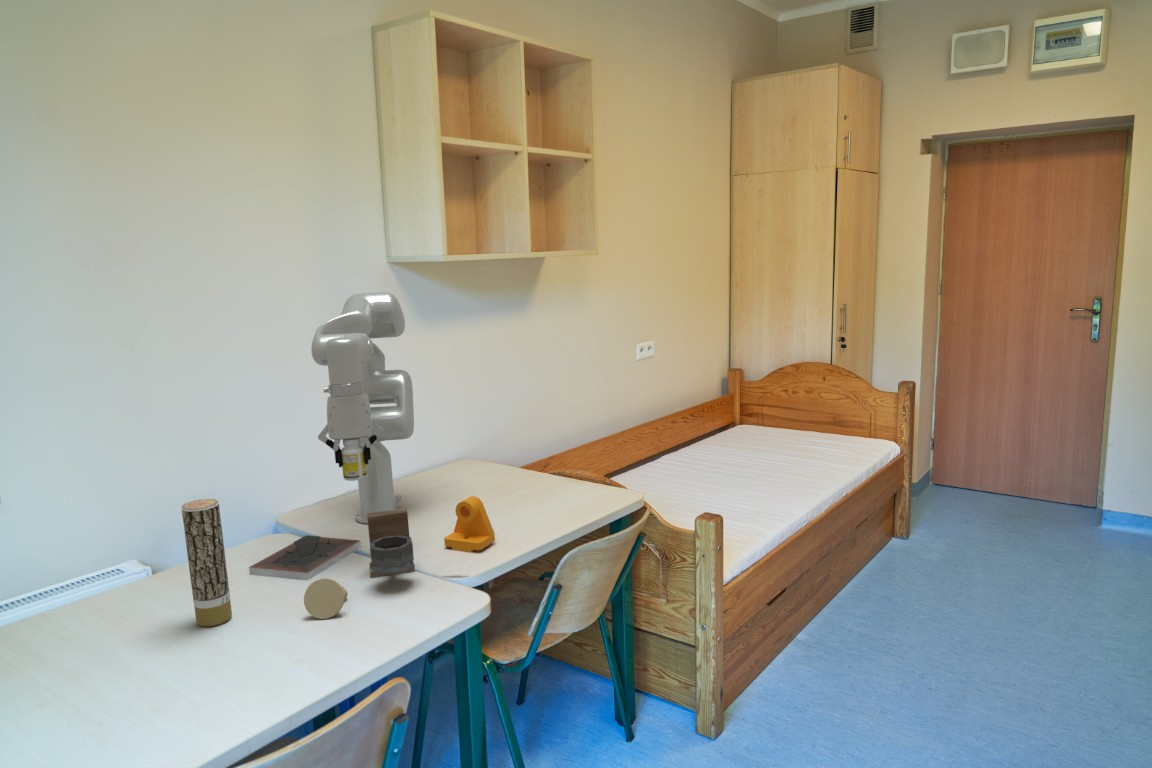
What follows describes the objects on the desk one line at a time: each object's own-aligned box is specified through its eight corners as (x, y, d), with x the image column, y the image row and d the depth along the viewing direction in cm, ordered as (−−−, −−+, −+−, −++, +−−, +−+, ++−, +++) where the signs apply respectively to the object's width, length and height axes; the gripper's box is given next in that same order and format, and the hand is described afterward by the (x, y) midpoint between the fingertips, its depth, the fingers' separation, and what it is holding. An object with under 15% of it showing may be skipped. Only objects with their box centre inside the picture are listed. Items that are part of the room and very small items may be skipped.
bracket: (443, 549, 200) (439, 502, 199) (459, 539, 207) (455, 494, 205) (480, 553, 196) (477, 506, 194) (495, 543, 203) (492, 498, 201)
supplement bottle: (359, 473, 196) (355, 434, 194) (371, 477, 192) (367, 437, 190) (339, 478, 192) (335, 438, 191) (350, 482, 188) (346, 442, 187)
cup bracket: (369, 568, 190) (364, 511, 187) (412, 562, 192) (408, 506, 190) (372, 596, 173) (366, 535, 171) (419, 589, 176) (414, 528, 174)
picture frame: (307, 544, 210) (249, 576, 190) (306, 535, 209) (248, 566, 189) (361, 548, 205) (308, 582, 184) (360, 539, 204) (307, 572, 184)
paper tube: (197, 631, 161) (181, 511, 157) (195, 618, 167) (180, 502, 163) (233, 622, 164) (219, 505, 160) (231, 610, 170) (217, 496, 166)
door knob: (315, 576, 174) (352, 573, 174) (316, 614, 173) (353, 611, 173) (303, 580, 164) (343, 577, 165) (304, 620, 163) (344, 617, 164)
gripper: (308, 395, 183) (315, 472, 186) (384, 389, 187) (391, 464, 190) (309, 390, 190) (316, 464, 193) (383, 384, 194) (389, 456, 197)
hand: (353, 463), depth 192 cm, fingers closed on supplement bottle, 5 cm apart
